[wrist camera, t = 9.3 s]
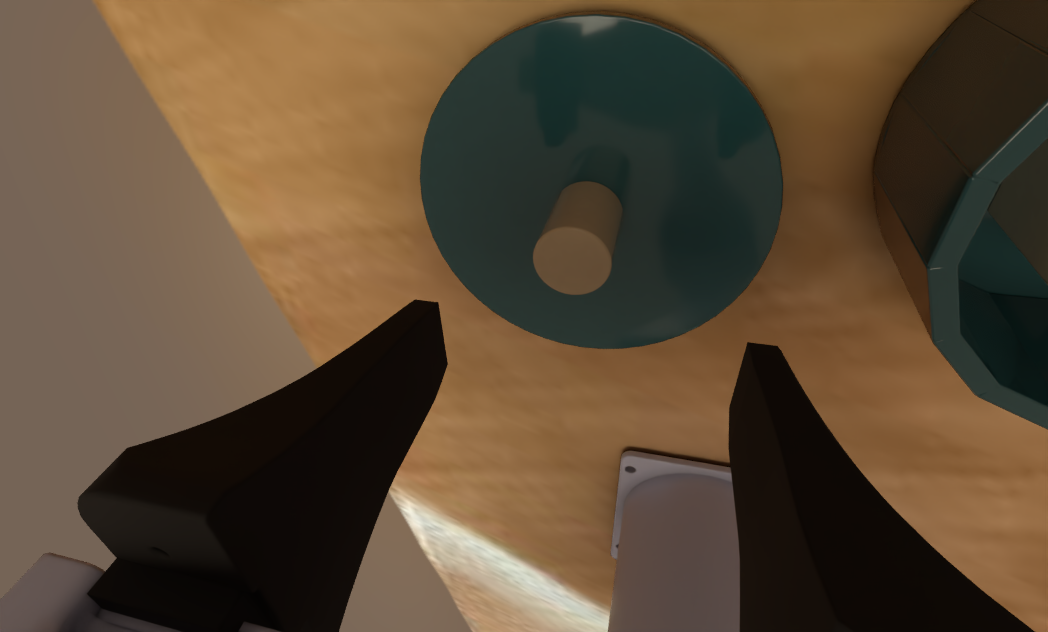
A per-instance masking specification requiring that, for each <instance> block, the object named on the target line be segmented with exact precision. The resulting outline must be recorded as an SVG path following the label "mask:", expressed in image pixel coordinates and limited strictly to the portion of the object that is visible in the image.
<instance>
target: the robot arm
mask: <svg viewBox="0 0 1048 632" xmlns="http://www.w3.org/2000/svg"><path fill="white" fill-rule="evenodd" d="M447 365H448V363H447V357H446V350H445V344H444V337H443V330H442V324H441V317H440V311H439V304H438V302H430V301H423V300H414V301H412V302H411V303H409V304H408V305H407V306H405V307H404V308H402V309H401V310H400V311H398V312H397V313H396V314H394V315H393V316H392V317H390V318H389V319H388V320H386V321H385V322H384V323H382V324H381V325H380V326H378V327H377V328H376V329H374V330H373V331H371V332H370V333H369V334H367V335H366V336H365V337H363V338H362V339H360V340H359V341H358V342H356V343H355V344H353V345H352V346H351V347H349V348H348V349H346V350H345V351H343V352H342V353H340V354H338V355H337V356H335V357H334V358H332V359H331V360H329V361H328V362H326V363H325V364H323V365H322V366H320V367H319V368H317V369H315V370H314V371H312V372H310V373H309V374H307V375H306V376H304V377H302V378H300V379H298V380H297V381H295V382H293V383H291V384H289V385H287V386H285V387H284V388H282V389H280V390H278V391H276V392H274V393H272V394H270V395H268V396H266V397H264V398H261V399H259V400H257V401H255V402H253V403H251V404H248V405H246V406H244V407H242V408H240V409H238V410H235V411H233V412H231V413H228V414H226V415H224V416H221V417H219V418H216V419H213V420H211V421H208V422H206V423H203V424H200V425H197V426H195V427H192V428H189V429H186V430H184V431H181V432H178V433H175V434H171V435H168V436H165V437H162V438H159V439H155V440H152V441H149V442H146V443H143V444H139V445H136V446H132V447H129V448H127V449H126V450H125V451H124V452H123V453H122V454H121V455H120V456H119V457H118V458H117V459H116V460H115V461H114V462H113V463H112V464H111V465H110V466H109V467H108V468H107V469H106V470H105V471H104V472H103V473H102V474H101V475H100V476H99V477H98V478H97V479H96V480H95V481H94V482H93V483H92V484H91V485H90V486H89V487H88V488H87V489H86V490H85V491H84V492H83V493H82V494H81V495H80V497H79V500H78V510H79V512H80V515H81V517H82V518H83V520H84V521H85V522H86V524H87V525H88V526H89V527H90V529H91V530H92V531H93V532H94V533H95V534H96V535H97V536H98V537H99V538H100V540H101V541H102V542H103V543H104V544H105V545H106V546H107V548H108V549H109V550H110V551H111V552H112V553H113V554H114V555H115V556H116V557H117V559H116V560H115V561H114V562H113V563H112V564H111V566H110V567H109V568H108V569H107V570H106V572H105V571H104V570H102V569H101V568H99V567H97V566H95V565H93V564H90V563H87V562H84V561H80V560H76V559H72V558H68V557H65V556H61V555H57V554H53V553H45V554H43V555H42V556H41V557H40V558H39V560H38V561H37V562H36V563H35V564H34V565H33V566H32V567H31V568H30V569H29V570H28V571H27V572H26V573H25V574H24V575H23V576H22V578H20V580H19V581H18V582H17V583H16V584H15V585H14V586H13V587H12V588H11V589H10V590H9V591H8V592H7V593H6V594H5V595H4V596H3V597H2V598H1V600H0V632H339V629H340V626H341V623H342V619H343V616H344V613H345V610H346V606H347V603H348V600H349V597H350V594H351V591H352V588H353V585H354V582H355V579H356V576H357V573H358V570H359V567H360V565H361V561H362V559H363V556H364V553H365V551H366V548H367V545H368V542H369V539H370V537H371V534H372V531H373V529H374V526H375V523H376V521H377V518H378V516H379V513H380V511H381V508H382V506H383V503H384V501H385V498H386V495H387V493H388V491H389V488H390V486H391V484H392V482H393V480H394V478H395V475H396V473H397V471H398V469H399V467H400V466H401V464H402V462H403V460H404V458H405V456H406V454H407V452H408V450H409V449H410V447H411V445H412V443H413V441H414V439H415V437H416V435H417V433H418V431H419V430H420V428H421V426H422V424H423V422H424V420H425V418H426V416H427V414H428V412H429V410H430V408H431V406H432V404H433V402H434V400H435V398H436V396H437V393H438V390H439V388H440V385H441V382H442V379H443V376H444V373H445V371H446V368H447ZM729 456H730V466H731V467H725V466H719V465H713V464H707V463H702V462H696V461H690V460H684V459H678V458H672V457H666V456H660V455H655V454H649V453H643V452H637V451H626V452H624V453H623V454H622V456H621V464H620V473H619V482H618V491H617V500H616V509H615V518H614V527H613V536H612V545H611V556H612V557H613V558H614V559H616V560H617V563H616V571H615V579H614V587H613V595H612V603H611V611H610V618H609V626H608V632H1034V631H1033V630H1032V629H1031V628H1029V627H1028V626H1027V625H1025V624H1024V623H1023V622H1022V621H1020V620H1019V619H1018V618H1017V617H1015V616H1014V615H1013V614H1011V613H1010V612H1009V611H1008V610H1006V609H1005V608H1004V607H1002V606H1001V605H1000V604H999V603H997V602H996V601H995V600H993V599H992V598H991V597H990V596H988V595H987V594H986V593H985V592H983V591H982V590H981V589H980V588H979V587H977V586H976V585H975V584H974V583H973V582H972V581H970V580H969V579H968V578H967V577H966V576H965V575H963V574H962V573H961V572H960V571H959V570H958V569H957V568H955V567H954V566H953V565H952V564H951V563H950V562H948V561H947V560H946V559H945V558H944V557H943V556H942V555H941V554H940V553H939V552H937V551H936V550H935V549H934V548H933V547H932V546H931V545H930V544H929V543H928V542H927V541H926V540H925V539H924V538H923V537H922V536H921V535H920V534H919V533H918V532H917V531H916V530H915V529H914V528H912V527H911V526H910V525H909V524H908V523H907V522H906V521H905V520H904V519H903V518H902V517H901V516H900V515H899V514H898V513H897V512H896V511H895V510H894V509H893V508H892V506H891V505H890V504H889V503H888V502H887V501H886V500H885V499H884V498H883V497H882V496H881V495H880V493H879V492H878V491H877V490H876V489H875V488H874V487H873V485H872V484H871V483H870V482H869V481H868V480H867V478H866V477H865V476H864V475H863V474H862V472H861V471H860V470H859V469H858V467H857V466H856V465H855V464H854V462H853V461H852V460H851V459H850V457H849V456H848V455H847V453H846V452H845V451H844V449H843V448H842V447H841V445H840V444H839V443H838V441H837V440H836V439H835V437H834V436H833V434H832V433H831V432H830V430H829V429H828V427H827V426H826V424H825V423H824V421H823V420H822V418H821V417H820V415H819V414H818V412H817V411H816V409H815V408H814V406H813V405H812V403H811V402H810V400H809V398H808V397H807V395H806V394H805V392H804V390H803V389H802V387H801V385H800V384H799V382H798V380H797V378H796V377H795V375H794V373H793V371H792V370H791V368H790V366H789V364H788V362H787V361H786V359H785V357H784V355H783V353H782V351H781V350H780V349H779V348H778V346H773V345H765V344H757V343H749V342H748V343H747V346H746V350H745V354H744V357H743V361H742V364H741V368H740V371H739V375H738V379H737V382H736V386H735V389H734V393H733V396H732V400H731V404H730V408H729ZM631 466H632V467H631Z"/></svg>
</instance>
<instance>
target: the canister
mask: <svg viewBox="0 0 1048 632" xmlns="http://www.w3.org/2000/svg"><path fill="white" fill-rule="evenodd" d="M1047 139H1048V0H977V1H976V2H975V3H974V4H973V5H972V6H971V7H970V8H969V9H967V10H966V11H965V12H964V13H963V14H962V15H961V16H960V17H959V18H958V19H957V20H956V21H955V22H953V23H952V25H951V26H950V27H949V28H948V29H947V30H946V31H945V32H944V33H943V35H942V36H941V37H940V38H939V39H938V40H937V41H936V42H935V44H934V45H933V46H932V47H931V48H930V49H929V50H928V52H927V53H926V54H925V56H924V57H923V58H922V60H921V61H920V63H919V64H918V65H917V67H916V68H915V69H914V71H913V72H912V73H911V75H910V76H909V78H908V80H907V81H906V83H905V85H904V86H903V88H902V90H901V92H900V93H899V95H898V97H897V99H896V100H895V102H894V104H893V106H892V109H891V111H890V113H889V116H888V118H887V120H886V123H885V125H884V127H883V130H882V134H881V137H880V141H879V144H878V148H877V151H876V158H875V165H874V172H873V184H874V200H875V204H876V209H877V214H878V218H879V225H880V232H881V235H882V237H883V239H884V241H885V243H886V245H887V247H888V249H889V252H890V254H891V256H892V258H893V260H894V262H895V264H896V266H897V268H898V270H899V273H900V275H901V277H902V279H903V281H904V283H905V285H906V287H907V289H908V292H909V294H910V296H911V298H912V300H913V302H914V304H915V306H916V308H917V311H918V313H919V315H920V317H921V319H922V321H923V323H924V325H925V327H926V330H927V332H928V334H929V336H930V338H931V340H932V342H933V344H934V345H935V346H936V347H937V349H938V350H939V351H940V352H941V354H942V355H943V356H944V357H945V359H946V360H947V361H948V362H949V364H950V365H951V366H952V367H953V369H954V370H955V371H956V372H957V374H958V375H959V376H960V377H961V379H962V380H963V381H964V382H965V384H966V385H967V386H968V387H969V389H970V390H971V391H972V392H973V394H974V395H976V396H978V397H979V398H981V399H983V400H985V401H988V402H990V403H992V404H994V405H996V406H998V407H1000V408H1003V409H1005V410H1007V411H1009V412H1011V413H1013V414H1015V415H1018V416H1020V417H1022V418H1024V419H1026V420H1028V421H1030V422H1033V423H1035V424H1037V425H1039V426H1041V427H1043V428H1045V429H1048V285H1047V284H1046V282H1045V281H1044V280H1043V279H1042V277H1041V276H1040V275H1039V274H1038V273H1037V271H1036V270H1035V269H1034V268H1033V266H1032V265H1031V264H1030V263H1029V261H1028V260H1027V259H1026V258H1025V256H1024V255H1023V254H1022V253H1021V252H1020V250H1019V249H1018V248H1017V247H1016V245H1015V244H1014V243H1013V242H1012V240H1011V239H1010V238H1009V237H1008V236H1007V234H1006V233H1005V232H1004V231H1003V229H1002V228H1001V227H1000V226H999V224H998V223H997V222H996V221H995V219H994V218H993V217H992V216H991V215H990V213H989V212H988V209H989V207H990V205H991V203H992V201H993V199H994V197H995V195H996V194H997V192H998V190H999V188H1000V186H1001V184H1002V182H1003V181H1004V180H1005V179H1006V178H1007V177H1008V176H1009V175H1010V174H1011V173H1012V172H1013V171H1014V170H1015V169H1016V168H1017V167H1018V166H1019V165H1020V164H1022V163H1023V162H1024V161H1025V160H1026V159H1027V158H1028V157H1029V156H1030V155H1031V154H1032V153H1033V152H1034V151H1035V150H1036V149H1037V148H1039V147H1040V146H1041V145H1042V144H1043V143H1044V142H1045V141H1046V140H1047Z"/></svg>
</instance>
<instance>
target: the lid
mask: <svg viewBox="0 0 1048 632" xmlns="http://www.w3.org/2000/svg"><path fill="white" fill-rule="evenodd" d="M420 183H421V194H422V201H423V206H424V210H425V215H426V219H427V222H428V225H429V227H430V230H431V233H432V236H433V238H434V240H435V242H436V244H437V246H438V248H439V250H440V252H441V254H442V256H443V257H444V259H445V260H446V262H447V264H448V265H449V267H450V268H451V270H452V271H453V272H454V274H455V275H456V276H457V277H458V279H459V280H460V281H461V282H462V283H463V285H464V286H465V287H466V288H467V289H468V290H469V291H470V292H471V293H472V294H473V295H474V296H475V297H476V298H477V299H478V300H479V301H481V302H482V303H483V304H484V305H486V306H487V307H488V308H489V309H491V310H492V311H493V312H495V313H496V314H498V315H499V316H501V317H502V318H504V319H505V320H507V321H509V322H510V323H512V324H514V325H516V326H518V327H520V328H522V329H524V330H526V331H528V332H530V333H533V334H535V335H538V336H540V337H543V338H546V339H549V340H553V341H556V342H560V343H563V344H568V345H574V346H579V347H586V348H598V349H623V348H631V347H640V346H645V345H650V344H654V343H658V342H662V341H665V340H668V339H671V338H674V337H677V336H680V335H682V334H684V333H686V332H688V331H691V330H693V329H695V328H697V327H699V326H701V325H702V324H704V323H705V322H707V321H709V320H710V319H712V318H713V317H715V316H717V315H718V314H719V313H720V312H721V311H723V310H724V309H725V308H726V307H728V306H729V305H730V304H731V303H732V302H733V301H734V300H735V299H736V298H737V297H738V296H739V295H740V294H741V293H742V292H743V291H744V290H745V289H746V288H747V287H748V285H749V284H750V282H751V281H752V280H753V278H754V277H755V276H756V274H757V273H758V271H759V270H760V268H761V267H762V265H763V263H764V261H765V259H766V257H767V255H768V253H769V251H770V249H771V247H772V244H773V241H774V238H775V235H776V232H777V230H778V225H779V220H780V215H781V210H782V199H783V177H782V169H781V161H780V155H779V151H778V148H777V144H776V141H775V137H774V134H773V130H772V127H771V125H770V123H769V121H768V119H767V117H766V114H765V112H764V110H763V108H762V106H761V104H760V103H759V101H758V100H757V98H756V97H755V95H754V94H753V92H752V91H751V89H750V88H749V86H748V85H747V83H746V82H745V81H744V80H743V79H742V78H741V76H740V75H739V74H738V73H737V72H736V71H735V70H734V69H733V68H732V67H731V66H730V64H729V63H728V62H726V61H725V60H724V59H723V58H721V57H720V56H719V55H718V54H716V53H715V52H714V51H713V50H711V49H710V48H709V47H708V46H706V45H705V44H703V43H702V42H700V41H698V40H696V39H695V38H693V37H691V36H690V35H688V34H686V33H684V32H683V31H681V30H678V29H676V28H673V27H671V26H668V25H666V24H663V23H661V22H658V21H656V20H652V19H648V18H644V17H639V16H635V15H631V14H627V13H615V12H603V11H591V12H575V13H567V14H562V15H557V16H553V17H548V18H543V19H541V20H538V21H535V22H533V23H530V24H527V25H525V26H522V27H519V28H517V29H515V30H514V31H512V32H510V33H508V34H506V35H504V36H503V37H501V38H499V39H497V40H496V41H494V42H493V43H492V44H490V45H489V46H488V47H486V48H485V49H484V50H483V51H481V52H480V53H479V54H477V55H476V56H475V57H474V58H472V59H471V61H470V62H469V63H468V64H467V65H466V66H465V67H464V68H463V69H462V70H461V71H460V72H459V73H458V74H457V75H456V76H455V78H454V79H453V80H452V82H451V83H450V85H449V86H448V87H447V89H446V90H445V92H444V93H443V94H442V96H441V98H440V100H439V102H438V104H437V106H436V108H435V110H434V112H433V114H432V116H431V119H430V122H429V125H428V128H427V131H426V134H425V138H424V143H423V149H422V154H421V168H420Z"/></svg>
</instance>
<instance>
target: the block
mask: <svg viewBox="0 0 1048 632" xmlns="http://www.w3.org/2000/svg"><path fill="white" fill-rule="evenodd" d="M988 212H989V213H990V215H991V216H992V217H993V218H994V219H995V221H996V222H997V223H998V224H999V226H1000V227H1001V228H1002V229H1003V231H1004V232H1005V233H1006V234H1007V236H1008V237H1009V238H1010V239H1011V240H1012V242H1013V243H1014V244H1015V245H1016V247H1017V248H1018V249H1019V250H1020V252H1021V253H1022V254H1023V255H1024V256H1025V258H1026V259H1027V260H1028V261H1029V263H1030V264H1031V265H1032V266H1033V268H1034V269H1035V270H1036V271H1037V273H1038V274H1039V275H1040V276H1041V277H1042V279H1043V280H1044V281H1045V282H1046V284H1047V285H1048V139H1047V140H1046V141H1045V142H1044V143H1043V144H1042V145H1041V146H1040V147H1039V148H1037V149H1036V150H1035V151H1034V152H1033V153H1032V154H1031V155H1030V156H1029V157H1028V158H1027V159H1026V160H1025V161H1024V162H1023V163H1022V164H1020V165H1019V166H1018V167H1017V168H1016V169H1015V170H1014V171H1013V172H1012V173H1011V174H1010V175H1009V176H1008V177H1007V178H1006V179H1005V180H1004V181H1003V182H1002V184H1001V186H1000V188H999V190H998V192H997V194H996V195H995V197H994V199H993V201H992V203H991V205H990V207H989V209H988Z"/></svg>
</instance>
